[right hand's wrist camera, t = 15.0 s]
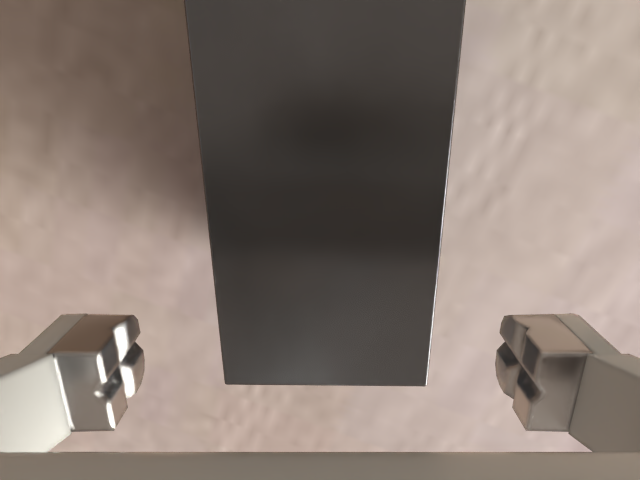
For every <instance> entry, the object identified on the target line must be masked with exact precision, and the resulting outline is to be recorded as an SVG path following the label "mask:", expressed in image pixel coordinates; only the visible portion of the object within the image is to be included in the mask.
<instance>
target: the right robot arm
mask: <svg viewBox="0 0 640 480" xmlns="http://www.w3.org/2000/svg"><path fill="white" fill-rule="evenodd" d="M139 334H140V328H139V323H138V319H137V318H136V317H135V316H134V315H109V314H65V315H61V316H60V317H59V318H58V319H57V320H55V321H54V322H53V323H52V324H51V325H50V326H49V327H48V328H47V329H46V330H44V331H43V332H42V333H41V334H40V335H39V336H38V337H37V338H36V339H34V340H33V341H32V342H31V343H30V344H29V345H28V346H27V347H26V348H25V349H23V350H22V351H21V352H20V353H19V354H10V355H7V356H5V357H2V358H0V480H640V358H638V357H635V356H633V355H630V354H621V353H620V352H619V351H618V350H617V349H615V348H614V347H613V346H612V345H611V344H610V343H609V342H608V341H607V340H606V339H604V338H603V337H602V336H601V335H600V334H599V333H598V332H597V331H596V330H595V329H593V328H592V327H591V326H590V325H589V324H588V323H587V322H586V321H585V320H584V319H583V318H581V317H580V316H579V315H576V314H537V315H508V316H504V318H503V320H502V322H501V328H500V334H501V336H502V337H503V339H504V340H505V342H504V343H503V344H502V345H501V346H500V348H499V349H498V350H497V353H496V362H495V366H496V376H497V379H498V382H499V385H500V387H501V389H502V390H503V392H504V393H505V394H506V395H508V396H510V397H511V398H513V399H514V401H513V407H512V408H513V409H514V411H515V413H516V414H517V416H518V418H519V420H520V421H521V423H522V425H523V426H524V428H525V430H526V431H560V432H569V434H570V435H571V436H572V437H574V438H575V439H576V440H578V441H579V442H580V443H582V444H583V445H584V446H586V447H587V448H588V449H590V450H591V451H592V452H48V451H49V450H50V449H52V448H53V447H54V446H56V445H57V444H58V443H60V442H61V441H62V440H64V439H65V438H66V437H68V436H69V435H70V434H71V432H80V431H114V430H115V428H116V426H117V425H118V423H119V421H120V420H121V418H122V416H123V414H124V413H125V411H126V409H127V408H128V407H127V401H126V399H127V398H129V397H130V396H132V395H134V394H135V393H136V392H137V390H138V389H139V387H140V385H141V382H142V378H143V374H144V362H145V360H144V353H143V350H142V349H141V348H140V346H139V345H138V344H137V343H136V342H135V340H136V339H137V337H138V336H139Z"/></svg>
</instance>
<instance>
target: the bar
mask: <svg viewBox="0 0 640 480" xmlns="http://www.w3.org/2000/svg"><path fill="white" fill-rule="evenodd" d="M184 4H185V13H186V23H187V32H188V41H189V51H190V60H191V70H192V79H193V88H194V98H195V107H196V117H197V126H198V135H199V145H200V154H201V164H202V173H203V182H204V192H205V201H206V211H207V220H208V229H209V239H210V248H211V258H212V267H213V276H214V286H215V295H216V305H217V314H218V323H219V333H220V342H221V352H222V361H223V370H224V380H225V384H237V385H348V386H427V381H428V371H429V361H430V351H431V341H432V331H433V322H434V312H435V302H436V292H437V282H438V272H439V262H440V252H441V242H442V232H443V223H444V213H445V203H446V193H447V183H448V173H449V163H450V153H451V143H452V133H453V124H454V114H455V104H456V94H457V84H458V74H459V64H460V54H461V44H462V34H463V25H464V15H465V5H466V0H184Z"/></svg>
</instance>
